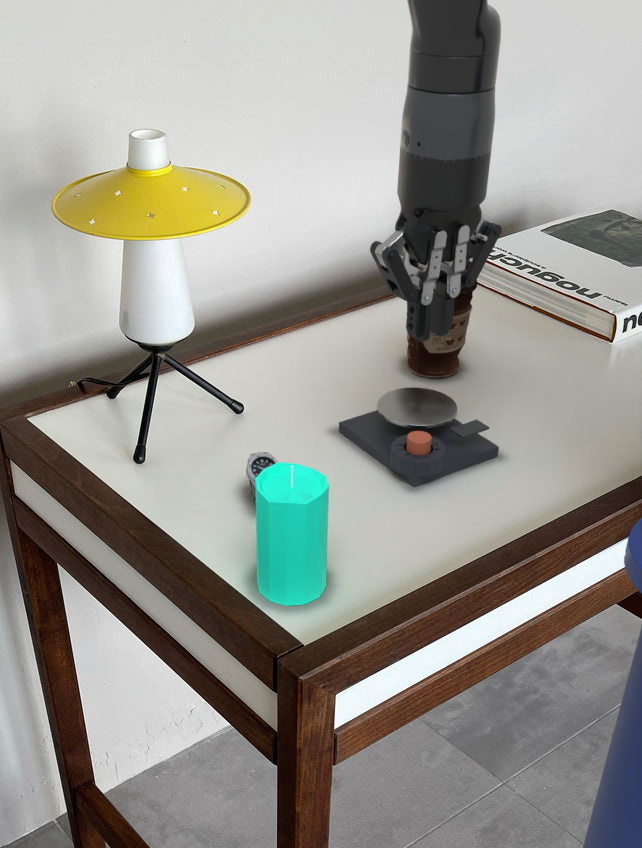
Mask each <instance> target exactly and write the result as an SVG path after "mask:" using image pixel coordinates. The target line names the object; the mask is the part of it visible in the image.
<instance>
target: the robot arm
mask: <svg viewBox="0 0 642 848" xmlns="http://www.w3.org/2000/svg"><path fill="white" fill-rule="evenodd" d="M407 6H408V12H409V16H410V23H411V35H410V42H409V55H408V57H409V58H408V70H407V85H406V94H405V97H404V103H403V109H402V114H401V115H402V116H401V128H400V143H399V144H400V145H399V158H398V159H399V160H398V175H397V190H396V193H397V197H398V200H399V204H400V211H399V214H398V218H397V219H396V221H395V224H394V232H393V233H392V234H391V235H390V236H389V237H388V238H386V239H385V240H384V241H383V242H382V241H379V240H375V241H373V242H372V243H371V245H370V247H369V252H370V254H371V256H372V258H373V260H374V262H375V264H376V266H377V268H378V271H379V272H380V274H381V276H382V278H383V280H384V283H385V284H386V286H387V288H388V290H389V292H390V293H391V294H392V295H394V296H396V297H398V298H400V299H401V300H403V301H405V302H406V303H407V302H408V307H407V306H406V322H405V329H406V333H407V332H408V333H409V334H410V336H411V337H412V338H414V339H416V340H417V341H419V342H424V341H428V340H429V338H430V332H432V333H434V334H436V335H437V336H439V337H442V336H445V335H448V333H449V328H450V327H451V325H452V322H453V312H454V303H455V297H457V296H458V295H459V293H460V290H461V289H462V288H464V287H465V286H467V287H472V286H473V285H474V284H475V282H476V280H477V281H478V278H479V277H480V276H479V275H481V272H482V270H483V268H484V266H485V265H486V263H487V261H488V259H489V257H490V255H491V253H492V251H493V249H494V247H495V245H496V244H497V241H498V240H499V238H500V236H501V234H502V231H503V227H502V226H501V225H500V224H498V223H495V222H494V221H491V220H489V219H486V218H484V217H483V211H482V208H481V204H482V203H484V201H485V200H486V199H487V198H486V197H487V193H488V183H489V174H490V165H491V157H492V149H493V138H494V130H495V121H496V85H497V78H498V77H497V76H498V67H499V58H500V51H501V43H502V22H501V17H500V13H499V12H498V11H497V9H496V8H495V7H493V6H492V5H490V4H488V0H407ZM404 250H405V253H404ZM471 259H472V260H471ZM468 261H471V264H470V266H469V268H468V270H467V271H465V267H466V265H467V263H468ZM420 280H421V285H420ZM419 285H420V287H419ZM434 289H435V292H433V290H434Z"/></svg>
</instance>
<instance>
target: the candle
mask: <svg viewBox="0 0 642 848" xmlns="http://www.w3.org/2000/svg"><path fill="white" fill-rule="evenodd" d="M255 490H256V504H255V533H256V534H255V537H256V538H255V540H256V542H255V543H256V544H255V545H256V546H255V548H256V584H257V589H258V593H259V594H261V595H262V596H263V597H264V598H265V599H266V600H267V601H269V602H271V603H274V604H277V605H278V604H279V605H282V606H287V607H289V606H290V607H291V606H302V605H303V606H304V605H307V604H309V603H311V602H313V601H315V600H317V599H319V598H320V597H321V596H322V594H323V592H324V591H325V590H326V588H327V567H328V566H327V562H328V531H329V530H328V529H329V502H330V501H329V499H330V496H329V495H330V484H329V480H328V478H327V475H325V474H324V473H323V472H320V471H318V470H317V469H316V468H312V467H309V466H306V465H303V464H299V463H296V462H295V463H293V462H281V461H278V462H277V463H275V464H273V465H272V466H270V467H268V468H266V469H264V470H262V472H261V473H260V474H259V475H258V476H257V477H256V478H255Z"/></svg>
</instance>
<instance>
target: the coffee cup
mask: <svg viewBox="0 0 642 848" xmlns="http://www.w3.org/2000/svg"><path fill="white" fill-rule="evenodd" d="M471 262H472V260H469V261H468V263H467V265H466V267H465V271H467V270H468V268H469V266H470V264H471ZM478 284H479V283H478V279H477V280H476V282H475V284H474V285H473V286H472V287H467V286H465V287H464V288H462V289H461V290H460V293H459V295H458V296H457V297H455V303H454V312H453V322H452V325H451V327H450V328H449V333H448V335H445V336H442V337H439V336H437V335H436V334H434V333H432V332H430V338H429V340H428V341H424V342H419V341H417V340H416V339H414V338H412V337H411V336H410V334H409V333H408V332H407V331H406V341H407V346H406V356H407V359H406V364H407V367H408V370H409V372H411V373H413V374H415V375H417V376H421V377H425V378H443V377H449V376H452V375H454V374H456V373H457V372H458V371H459V370H460V368H461V362H460V358H459V355H460V352H461V350H462V349H463V347H464V346H465V344H466V341H467V339H466V338H467V337H466V336H467V330H468V327H469V322H470V317H471V313H472V310H473V305H472V303H471V302H472V300H473V298H474V295H473V293H474V291H476V289H477V288H478ZM420 285H421V280H420ZM420 285H419V287H420ZM433 292H435V289H434V290H433ZM407 307H408V302H407V301H406V308H407Z"/></svg>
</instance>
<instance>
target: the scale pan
mask: <svg viewBox="0 0 642 848" xmlns="http://www.w3.org/2000/svg"><path fill="white" fill-rule="evenodd" d="M376 410H378V412H379V414H380V415H381V416H382V417H383V418H384V419H386V420H387V421H389V422H391V423H393V424H396V425H399V426H403V427H408V428H419V429H424V428H434V427H439V426H442V425H445V424H447V423H449V422H451V421H452V420H453V419H456V417H457V415H458V410H459V409H458V404H457V403H456V401H455V400H454V399H453V398H452V397H451V396H449V395H448V394H446V393H444V392H441V391H438V390H436V389H431V388H425V387H400V388H397V389H392V390H389V391H388V392H385V393H384V394H382V395H381V396H380V397H379V398H378V400H377V403H376ZM490 429H491V428H490V426H488V425H487V424H485V423H483V422H482V421H481V420H479V419H478V418H477V419H474V420H470V421H468V422H465V423H462V425H459V426H456V427H453V428H450V431H452V432H453V433H455V434H456V435H458V436H459V437H461V438H465V437H468V436H471V435H474V434H477V433H478V434H481V433H482V432H485V431H487V430H490Z"/></svg>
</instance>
